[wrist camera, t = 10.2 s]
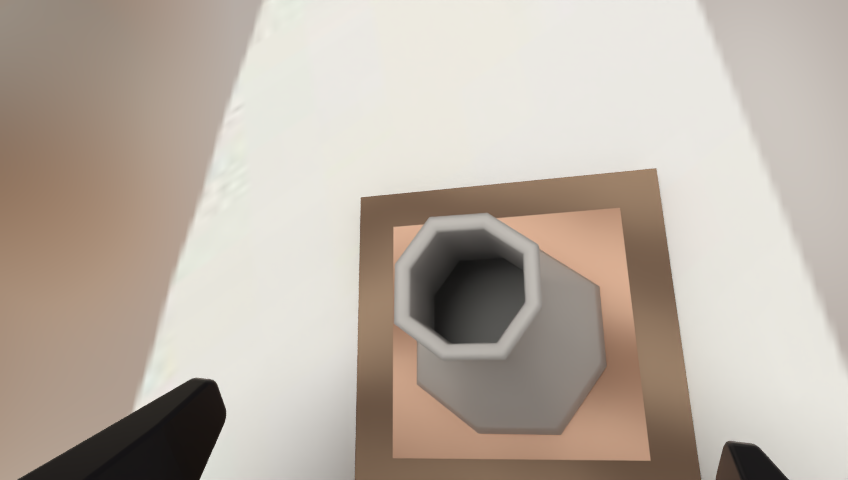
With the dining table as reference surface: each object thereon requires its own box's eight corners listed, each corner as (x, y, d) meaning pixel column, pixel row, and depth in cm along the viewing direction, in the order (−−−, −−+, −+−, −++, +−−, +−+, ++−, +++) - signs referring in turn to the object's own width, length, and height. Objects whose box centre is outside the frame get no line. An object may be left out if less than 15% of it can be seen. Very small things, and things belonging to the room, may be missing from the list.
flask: (629, 271, 20) (691, 159, 11) (580, 469, 19) (601, 539, 9) (446, 224, 22) (365, 99, 13) (389, 400, 21) (252, 400, 12)
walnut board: (735, 761, 16) (744, 780, 16) (357, 717, 19) (348, 731, 18) (652, 176, 22) (656, 167, 21) (366, 203, 24) (359, 196, 24)
